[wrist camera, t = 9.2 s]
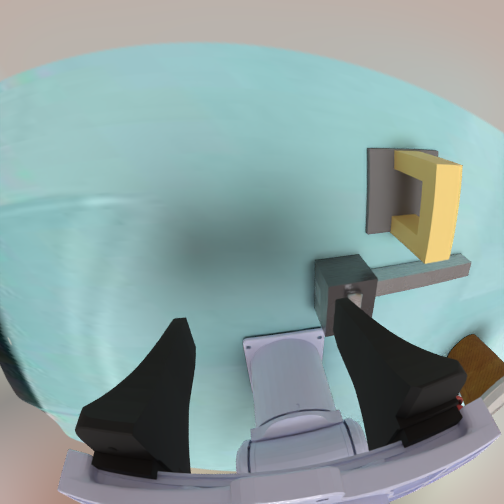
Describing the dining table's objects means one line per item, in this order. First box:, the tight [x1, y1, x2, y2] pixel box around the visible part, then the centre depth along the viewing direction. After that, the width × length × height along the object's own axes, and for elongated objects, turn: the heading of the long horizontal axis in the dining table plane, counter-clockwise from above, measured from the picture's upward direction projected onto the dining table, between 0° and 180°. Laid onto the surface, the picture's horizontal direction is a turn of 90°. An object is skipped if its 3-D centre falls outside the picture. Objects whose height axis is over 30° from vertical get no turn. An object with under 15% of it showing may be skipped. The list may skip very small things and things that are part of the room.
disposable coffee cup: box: [447, 334, 504, 415], centre depth 27 cm, size 10×10×12 cm
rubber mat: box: [366, 148, 438, 234], centre depth 20 cm, size 7×7×1 cm
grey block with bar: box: [314, 253, 471, 337], centre depth 22 cm, size 5×17×5 cm, turn 96°
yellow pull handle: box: [390, 150, 463, 264], centre depth 18 cm, size 7×2×6 cm, turn 6°
